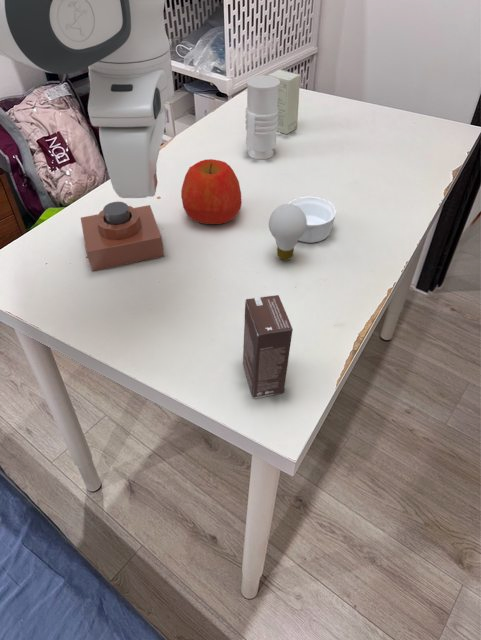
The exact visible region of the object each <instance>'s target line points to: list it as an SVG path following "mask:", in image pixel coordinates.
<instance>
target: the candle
mask: <svg viewBox="0 0 481 640" xmlns="http://www.w3.org/2000/svg"><path fill="white" fill-rule="evenodd" d="M245 85H246V86H247V87H246V88H247V89H246V93H247V94H246V95H247V96H246V108H245V131H246V136H245V138H246V139H245V146H246V147H247V148H248V150H247V155H248V156H249V157H250V158H252V159H254V160H268V159H270V158H272V157H273V156H274V155H275V151H274V149H275V148H276V146H277V132H278V131H277V130H278V126H277V125H278V112H279V110H278V108H277V101H278V86H279V85H280V81H279V79H277V78H275V77H273V76H268V74H265V75H264V74H260V75H252V76H249V77H248V78H247V79H246V80H245Z"/></svg>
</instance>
